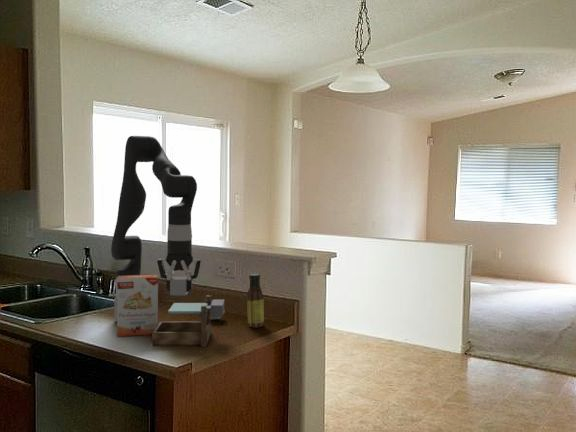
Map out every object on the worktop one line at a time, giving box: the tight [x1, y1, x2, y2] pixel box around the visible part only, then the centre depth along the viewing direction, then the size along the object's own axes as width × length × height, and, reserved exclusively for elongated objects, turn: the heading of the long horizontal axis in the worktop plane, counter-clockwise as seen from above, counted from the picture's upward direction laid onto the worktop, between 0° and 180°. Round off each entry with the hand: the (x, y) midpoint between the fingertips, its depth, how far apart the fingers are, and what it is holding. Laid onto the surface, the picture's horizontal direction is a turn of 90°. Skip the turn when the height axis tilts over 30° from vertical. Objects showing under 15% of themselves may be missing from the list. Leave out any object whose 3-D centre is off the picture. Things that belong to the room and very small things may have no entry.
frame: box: [151, 294, 213, 348], centre depth 182 cm, size 18×18×14 cm
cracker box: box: [116, 274, 159, 338], centre depth 188 cm, size 14×6×21 cm, turn 106°
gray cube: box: [169, 276, 189, 296], centre depth 167 cm, size 5×5×5 cm
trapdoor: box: [167, 299, 225, 318], centre depth 182 cm, size 18×12×4 cm, turn 93°
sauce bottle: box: [246, 273, 265, 329], centre depth 200 cm, size 6×6×20 cm
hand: (179, 291), depth 167 cm, fingers closed on gray cube, 5 cm apart
